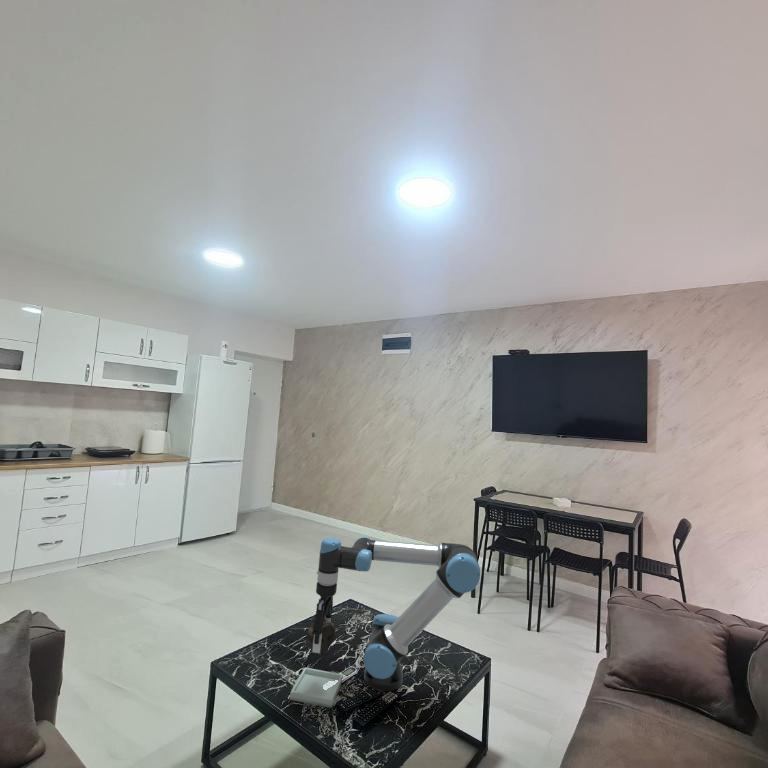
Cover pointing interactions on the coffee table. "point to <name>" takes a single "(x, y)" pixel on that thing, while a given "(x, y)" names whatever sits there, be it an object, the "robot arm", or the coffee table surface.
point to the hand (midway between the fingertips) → (320, 643)
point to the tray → (316, 687)
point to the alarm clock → (327, 636)
